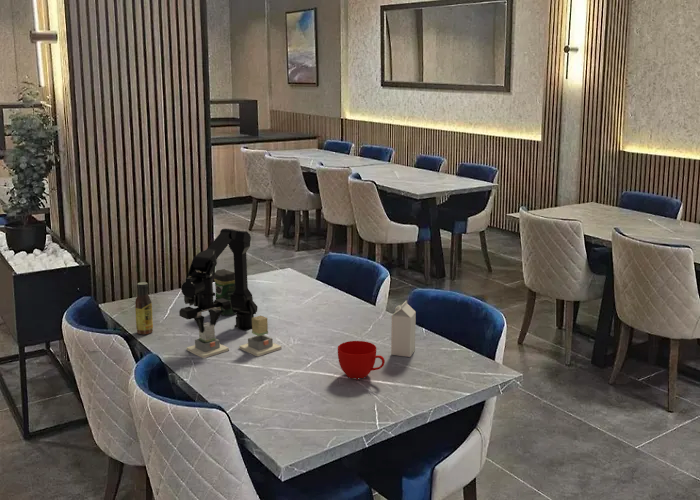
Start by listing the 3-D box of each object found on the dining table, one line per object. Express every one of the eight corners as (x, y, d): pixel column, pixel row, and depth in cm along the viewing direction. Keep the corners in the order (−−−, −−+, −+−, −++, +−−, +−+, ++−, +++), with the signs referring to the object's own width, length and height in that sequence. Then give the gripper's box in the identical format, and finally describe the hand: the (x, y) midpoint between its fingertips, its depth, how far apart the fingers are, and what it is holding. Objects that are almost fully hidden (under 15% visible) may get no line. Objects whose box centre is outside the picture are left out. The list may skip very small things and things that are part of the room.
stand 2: (263, 341, 282) (263, 331, 281) (281, 348, 274) (281, 338, 274) (239, 348, 275) (239, 338, 274) (257, 356, 267) (257, 346, 266)
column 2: (261, 330, 276) (260, 315, 275) (268, 333, 273) (267, 318, 272) (251, 333, 273) (251, 317, 272) (258, 336, 270) (258, 320, 269)
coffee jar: (241, 313, 314) (239, 271, 310) (225, 317, 309) (223, 274, 304) (228, 308, 321) (226, 266, 317) (212, 312, 316) (210, 269, 311)
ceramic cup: (374, 389, 240) (374, 360, 238) (330, 377, 249) (330, 349, 247) (393, 375, 251) (393, 347, 249) (350, 365, 260) (350, 338, 257)
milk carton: (415, 350, 273) (416, 301, 269) (410, 357, 267) (411, 306, 262) (396, 348, 275) (397, 299, 271) (390, 355, 269) (391, 304, 264)
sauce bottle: (148, 335, 288) (145, 286, 283) (133, 334, 289) (130, 285, 284) (156, 330, 294) (153, 281, 289) (141, 329, 295) (138, 280, 290)
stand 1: (211, 342, 280) (211, 332, 280) (228, 350, 273) (228, 340, 272) (186, 350, 273) (185, 339, 272) (203, 358, 265) (202, 347, 264)
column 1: (208, 337, 275) (208, 321, 273) (215, 340, 272) (214, 324, 271) (199, 340, 272) (198, 324, 271) (205, 343, 269) (204, 327, 268)
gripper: (214, 280, 279) (215, 319, 283) (170, 290, 267) (172, 331, 271) (231, 286, 272) (232, 327, 275) (186, 297, 259) (189, 339, 263)
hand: (206, 330), depth 271 cm, fingers closed on column 1, 4 cm apart
